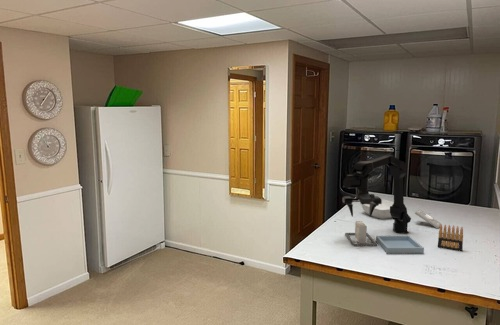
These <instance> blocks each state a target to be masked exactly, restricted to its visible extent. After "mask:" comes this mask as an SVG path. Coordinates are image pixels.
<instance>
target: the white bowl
mask: <svg viewBox="0 0 500 325" xmlns="http://www.w3.org/2000/svg"><path fill="white" fill-rule="evenodd" d="M381 200H382V204H379V205H378V206H376V207H375V208H374V210H373V213H372V215H371V217H374V218H377V219H378V220H386V219H392V216H391V213H390V206H392V205H393V203H394V201H392V200H391V201H390V200H387V199H381ZM361 208H362V210H363V212H365V213H366V214H367V215H369V209H370V204H361Z"/></svg>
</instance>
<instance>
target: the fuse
mask: <svg viewBox="0 0 500 325" xmlns="http://www.w3.org/2000/svg"><path fill="white" fill-rule="evenodd" d="M354 224H355V225H354V226H355V229H354V230H355V231H354V233H355V236H354V238H355V239H356V241H357V242H358V243H367V236H366V233H368V232H367V230H368V228H367V225H366V224H365V223H364V222H363V221H361V220H355V223H354Z"/></svg>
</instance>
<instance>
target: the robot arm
mask: <svg viewBox="0 0 500 325" xmlns="http://www.w3.org/2000/svg"><path fill="white" fill-rule="evenodd" d="M383 166H387V167H388V168H389V171H390V174H391V176H392V179H393V202H394V203H393V205H392V206H390V213H391V216H392V218H391V220H394V221H393V223H392V225H393V226H392V230H393V232H395V233H396V234H409V231H408V225H409V223H410V222H411V219H412V217H411V216H410V215H409V214H408V209H407V207H406V205H405V201H404V200H405V199H404V197H405V196H404V177H405V176H406V174H407V170H408V165H407V163H405V161H402V160H401V159H399V158H397V157H395V156H394V155H392V154H385V155H383V156H380V157H377V158H374V159H371V160H368V161H367V160H366V161H365V160H364V161H363V160H361V161H358V162H356V163H355V165H354V167H353V169H352V170H351V173H350V174H346V176H345V178H344V179H343V181H342V183H343V187H344V188H345V189H347V190H348V189H355V197H351V196H350V195H349V196H343V197H342V198H341V199H342V200H341V201H342V203H343V205H344V204H345V205H346V206H347V207H348V209H349V213H350V216H351V217H353V216H354V208H353V206H354V204H353V203H360V205H362V204H370V209H369V217H372V216H371V215H372V213H373V210H374V208H375V207H376V206H378V205H379V204H382V200H383V199H382V198H381V197H380V196H376V195H375V193H370V192H369V179H370V178H372V177H373V176H372V175H371V174H370V173H373V171H374V170H375V169H377V168H380V167H383Z"/></svg>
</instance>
